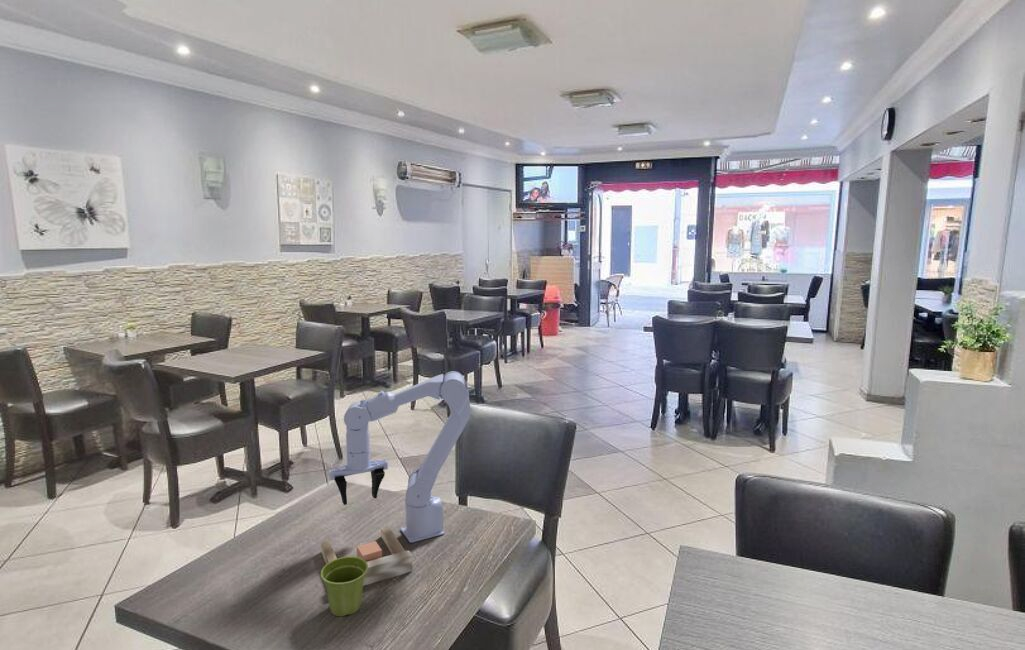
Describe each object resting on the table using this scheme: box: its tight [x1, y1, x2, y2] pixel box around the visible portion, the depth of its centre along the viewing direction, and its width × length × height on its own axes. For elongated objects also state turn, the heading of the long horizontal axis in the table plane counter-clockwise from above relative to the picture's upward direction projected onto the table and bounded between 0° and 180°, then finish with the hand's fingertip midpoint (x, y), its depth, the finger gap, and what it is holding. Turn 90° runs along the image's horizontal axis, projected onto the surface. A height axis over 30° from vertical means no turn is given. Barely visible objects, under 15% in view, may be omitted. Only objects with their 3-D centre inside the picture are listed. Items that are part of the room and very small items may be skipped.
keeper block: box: [356, 540, 383, 562], centre depth 126 cm, size 4×4×6 cm
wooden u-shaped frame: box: [320, 525, 413, 587], centre depth 130 cm, size 17×18×4 cm
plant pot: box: [320, 556, 368, 617], centre depth 113 cm, size 9×9×9 cm
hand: (359, 499), depth 140 cm, fingers open, 7 cm apart
